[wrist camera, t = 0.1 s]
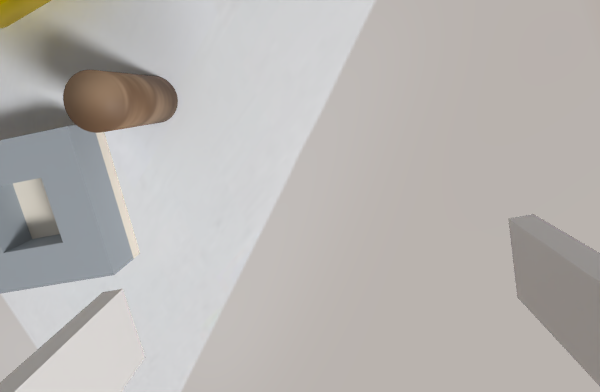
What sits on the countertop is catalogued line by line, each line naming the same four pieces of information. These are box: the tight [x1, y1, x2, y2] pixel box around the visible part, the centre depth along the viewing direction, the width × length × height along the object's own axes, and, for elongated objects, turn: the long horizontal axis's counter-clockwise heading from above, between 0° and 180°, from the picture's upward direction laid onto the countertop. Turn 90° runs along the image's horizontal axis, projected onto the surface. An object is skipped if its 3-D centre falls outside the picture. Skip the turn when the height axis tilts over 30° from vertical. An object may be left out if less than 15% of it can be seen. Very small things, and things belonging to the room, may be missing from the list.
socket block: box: [0, 125, 140, 293], centre depth 42 cm, size 14×14×6 cm
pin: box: [63, 70, 178, 133], centre depth 36 cm, size 4×4×11 cm
